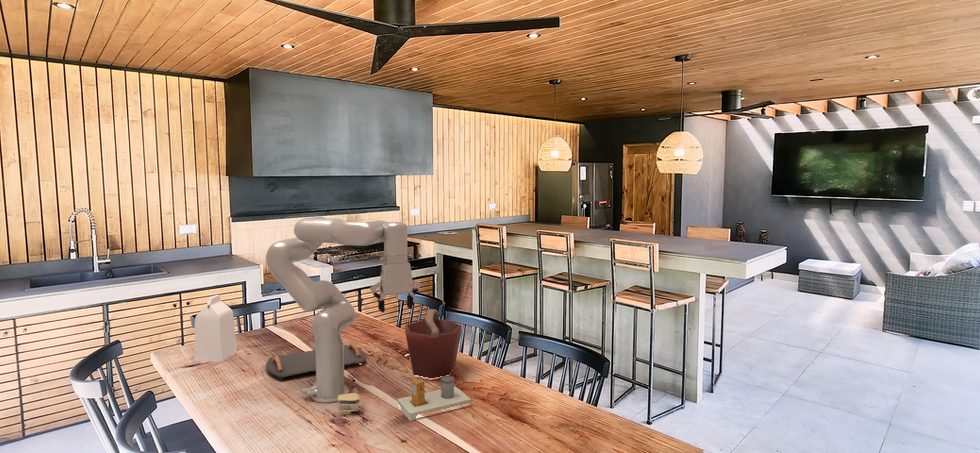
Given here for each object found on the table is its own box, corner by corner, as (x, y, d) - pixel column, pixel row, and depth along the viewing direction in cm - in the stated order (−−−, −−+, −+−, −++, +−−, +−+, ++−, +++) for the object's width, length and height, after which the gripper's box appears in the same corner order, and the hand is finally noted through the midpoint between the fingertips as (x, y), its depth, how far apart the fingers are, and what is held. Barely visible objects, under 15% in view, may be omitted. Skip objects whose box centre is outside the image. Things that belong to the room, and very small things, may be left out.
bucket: (449, 387, 185) (449, 321, 183) (393, 381, 190) (393, 317, 187) (465, 363, 209) (466, 305, 207) (415, 359, 214) (415, 301, 211)
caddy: (410, 421, 159) (410, 394, 158) (397, 406, 169) (397, 381, 169) (470, 406, 170) (471, 381, 169) (455, 392, 180) (455, 369, 180)
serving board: (272, 385, 185) (271, 369, 185) (261, 365, 205) (261, 350, 204) (372, 365, 207) (372, 351, 206) (354, 349, 226) (354, 335, 225)
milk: (221, 361, 207) (219, 300, 204) (194, 361, 207) (191, 299, 205) (237, 351, 219) (235, 293, 216) (211, 351, 219) (208, 293, 217)
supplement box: (418, 406, 169) (418, 378, 168) (425, 409, 167) (425, 381, 166) (410, 409, 167) (410, 381, 166) (417, 413, 165) (417, 384, 164)
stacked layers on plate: (332, 421, 159) (332, 404, 159) (334, 408, 168) (333, 392, 167) (364, 417, 162) (364, 401, 161) (364, 405, 170) (364, 389, 170)
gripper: (373, 262, 158) (374, 315, 160) (424, 259, 167) (424, 309, 168) (366, 259, 164) (367, 310, 166) (416, 256, 173) (416, 304, 175)
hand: (396, 309), depth 167 cm, fingers open, 9 cm apart
